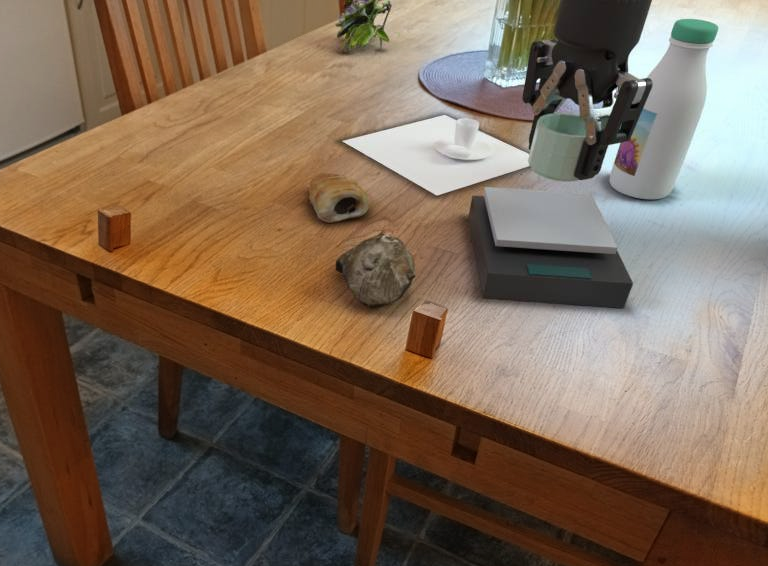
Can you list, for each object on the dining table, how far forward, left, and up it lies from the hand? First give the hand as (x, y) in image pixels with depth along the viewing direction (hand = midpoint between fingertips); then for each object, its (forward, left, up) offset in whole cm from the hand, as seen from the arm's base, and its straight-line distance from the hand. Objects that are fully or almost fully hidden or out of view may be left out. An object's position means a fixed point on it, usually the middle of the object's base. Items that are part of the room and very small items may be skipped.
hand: (560, 163), depth 74 cm
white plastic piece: (+9, -26, -11) cm, 30 cm away
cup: (0, 0, -1) cm, 1 cm away
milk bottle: (-16, -18, -11) cm, 27 cm away
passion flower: (+21, -74, -11) cm, 78 cm away
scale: (0, +2, -10) cm, 11 cm away
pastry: (+23, -7, -11) cm, 26 cm away
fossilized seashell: (+18, +10, -11) cm, 23 cm away
